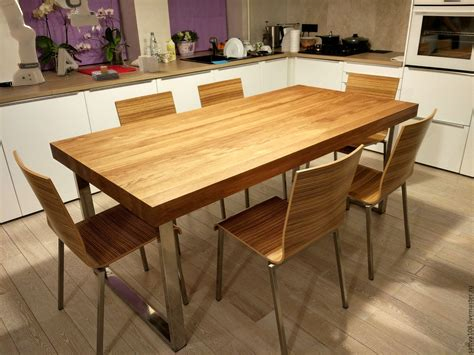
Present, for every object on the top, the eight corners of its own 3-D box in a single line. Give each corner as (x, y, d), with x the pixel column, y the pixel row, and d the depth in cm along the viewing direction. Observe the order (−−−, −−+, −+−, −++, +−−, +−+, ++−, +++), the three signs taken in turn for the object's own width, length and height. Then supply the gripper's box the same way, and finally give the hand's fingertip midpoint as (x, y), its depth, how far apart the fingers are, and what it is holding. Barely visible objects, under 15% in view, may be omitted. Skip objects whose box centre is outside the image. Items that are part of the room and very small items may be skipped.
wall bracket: (77, 89, 339) (63, 74, 309) (72, 89, 339) (57, 74, 309) (78, 65, 343) (64, 48, 313) (73, 66, 343) (58, 48, 313)
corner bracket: (140, 71, 320) (138, 56, 315) (151, 69, 327) (150, 54, 322) (147, 72, 313) (145, 57, 308) (159, 70, 320) (157, 55, 315)
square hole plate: (97, 80, 289) (96, 74, 287) (92, 77, 301) (91, 71, 300) (118, 77, 296) (118, 72, 294) (113, 74, 308) (112, 69, 307)
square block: (102, 78, 297) (100, 67, 293) (103, 77, 300) (101, 66, 297) (107, 77, 297) (105, 67, 294) (108, 76, 301) (106, 66, 297)
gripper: (69, 13, 292) (73, 33, 297) (97, 12, 301) (100, 31, 307) (68, 13, 297) (71, 32, 302) (96, 12, 306) (99, 31, 312)
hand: (86, 32), depth 305 cm, fingers open, 8 cm apart
